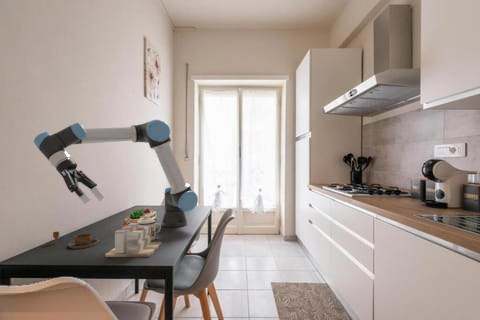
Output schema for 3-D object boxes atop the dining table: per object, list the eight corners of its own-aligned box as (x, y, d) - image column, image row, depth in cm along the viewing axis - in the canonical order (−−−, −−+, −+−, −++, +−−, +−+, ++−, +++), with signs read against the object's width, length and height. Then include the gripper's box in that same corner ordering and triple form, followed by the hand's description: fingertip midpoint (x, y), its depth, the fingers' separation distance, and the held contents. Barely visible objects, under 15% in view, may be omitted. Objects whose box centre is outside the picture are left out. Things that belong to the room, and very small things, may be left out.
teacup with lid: (139, 243, 132) (139, 218, 132) (134, 238, 139) (134, 215, 139) (163, 239, 138) (163, 215, 139) (157, 235, 146) (157, 213, 146)
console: (123, 244, 129) (123, 223, 129) (161, 244, 129) (161, 223, 129) (105, 256, 112) (105, 232, 112) (149, 256, 112) (149, 232, 112)
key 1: (118, 250, 116) (118, 229, 116) (127, 250, 116) (127, 229, 116) (114, 253, 113) (114, 231, 113) (123, 253, 113) (123, 231, 113)
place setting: (67, 253, 118) (67, 239, 118) (50, 245, 130) (50, 232, 130) (107, 244, 132) (107, 231, 132) (89, 237, 144) (89, 225, 144)
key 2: (130, 241, 129) (130, 223, 129) (138, 241, 129) (138, 223, 129) (127, 243, 126) (127, 224, 126) (135, 243, 126) (135, 224, 126)
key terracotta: (124, 245, 123) (124, 226, 123) (133, 245, 123) (133, 226, 123) (121, 248, 119) (121, 228, 119) (130, 248, 119) (130, 228, 119)
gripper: (72, 169, 133) (101, 203, 133) (37, 168, 108) (72, 209, 108) (84, 159, 134) (113, 192, 134) (53, 155, 109) (88, 196, 109)
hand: (95, 200), depth 121 cm, fingers open, 13 cm apart
